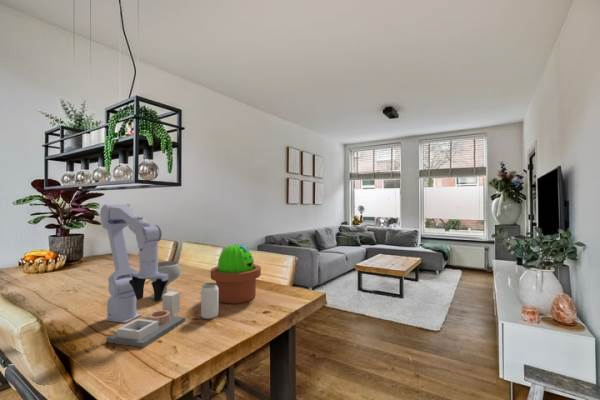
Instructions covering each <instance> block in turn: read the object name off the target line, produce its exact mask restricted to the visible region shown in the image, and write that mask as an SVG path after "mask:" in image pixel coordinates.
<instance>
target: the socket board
mask: <svg viewBox="0 0 600 400" xmlns="http://www.w3.org/2000/svg"><path fill="white" fill-rule="evenodd" d="M185 322H186V317H184V316H176V315H174V316H170V311H167V310H163V309H162V310H155V311H153V312H150V313H149V314H148V315H147V316H146V317H145V318H137V319H136V318H135V320H134V319H133V320H131V322H130V321H129V322H127V324H126V323H125V324H124V325H122V326H121V327H118V328H117V329H116V332H115V333H113V334H111V335H109V336H107V337H106V339H105V340H106V343H107V342H109V343H108V344H113V343H115V344H114V345H120V344H123V345H122V346H126V345H131V346H130V347H133V346H137V347H136V348H139V347H144V348H146V347H148V344H149V345H151V344H152V343H153V341H154V342H155V341H157V340H158V339H160V338H161V337H163V336H165V335H167V333H169V332H171V331H172V330H174V329H176V328H178V325H179V326H180V325H182V324H183V323H185ZM175 327H176V328H175ZM164 334H165V335H164ZM145 346H146V347H145Z"/></svg>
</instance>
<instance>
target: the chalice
mask: <svg viewBox="0 0 600 400" xmlns="http://www.w3.org/2000/svg"><path fill="white" fill-rule="evenodd" d="M158 272H160V273H164V274H168V282H167V284H166V286H165V288H164V290H163V293H162V297H161V300H163V295H164V294H166V293H168V292H178V291H177V290H173V289H172V290H168V285H169V284H171V283H173V281H175V280H177V279H178V278H179V277H180V275H181V272H182V271H181V266H180V264H179V262H177V261H175V260H174V261H173V260H171V261H170V260H169V261H168V260H167V261H158ZM149 280H150V282H154V281H156V280H153V279H149ZM150 299H152V300H154V293H151V295H150Z"/></svg>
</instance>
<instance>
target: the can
mask: <svg viewBox="0 0 600 400" xmlns="http://www.w3.org/2000/svg"><path fill="white" fill-rule="evenodd" d="M218 315H219V301H218V286H217V284H216V282H208V283H205V284H204V283H203V284H202V285H201V289H200V317H201V318H202V319H205V320H211V319H215V318H217V317H218Z"/></svg>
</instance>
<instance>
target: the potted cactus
mask: <svg viewBox="0 0 600 400" xmlns="http://www.w3.org/2000/svg"><path fill="white" fill-rule="evenodd" d="M252 253H253V252H251V250H250V249H249V247H247V246H245V244H243V243H242V244H239V243H237V244H230V245H229V246H228V247H225V248H224V250H223V251H221V252H220V255H219V256H218V257H219V258H218V262H217V265H216V266H214V267H212V268H211V269H210V279H211V280H212V281H215V283H216V284H217V286H218V302H220V303H222V304H230V305H231V304H234V305H235V304H242V303H247V302H249V301H251V300H254V298H255V297H256V295H257V292H256V291H257V287H256V286H257V285H256V283H257V280H256V279H257V278H259V277H261V275H262V269H261V265H258V264H255V263H254V261H255V259H254V256H253V255H252Z"/></svg>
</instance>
